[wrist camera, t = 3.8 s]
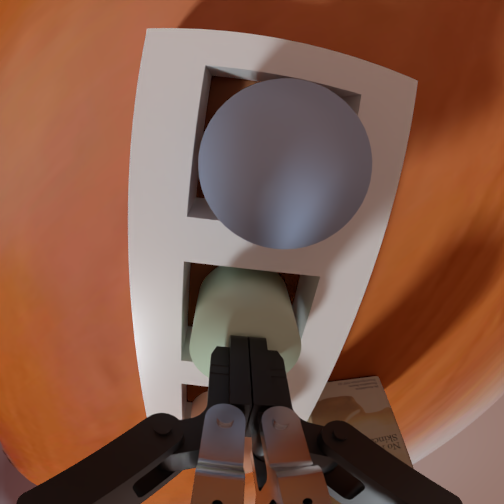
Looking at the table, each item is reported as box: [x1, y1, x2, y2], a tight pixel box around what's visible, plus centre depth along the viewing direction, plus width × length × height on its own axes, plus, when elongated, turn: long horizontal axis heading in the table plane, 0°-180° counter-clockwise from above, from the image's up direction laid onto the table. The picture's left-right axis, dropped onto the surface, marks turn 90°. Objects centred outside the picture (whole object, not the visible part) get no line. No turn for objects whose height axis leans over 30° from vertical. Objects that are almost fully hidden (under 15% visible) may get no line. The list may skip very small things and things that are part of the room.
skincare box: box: [307, 376, 413, 504], centre depth 16 cm, size 6×4×12 cm
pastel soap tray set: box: [128, 28, 418, 422], centre depth 16 cm, size 11×25×3 cm, turn 171°
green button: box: [189, 266, 301, 378], centre depth 14 cm, size 5×5×4 cm
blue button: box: [198, 78, 372, 249], centre depth 10 cm, size 5×5×4 cm
